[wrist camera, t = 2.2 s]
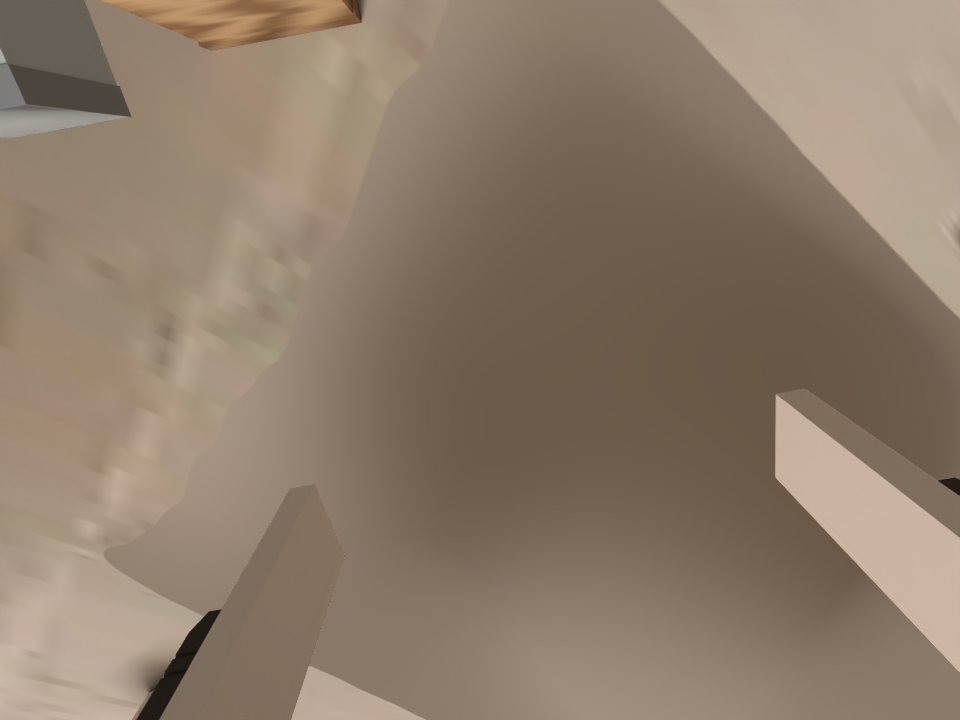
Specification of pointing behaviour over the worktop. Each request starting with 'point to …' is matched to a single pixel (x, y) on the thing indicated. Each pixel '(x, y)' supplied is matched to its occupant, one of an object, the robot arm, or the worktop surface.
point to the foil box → (53, 69)
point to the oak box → (242, 18)
